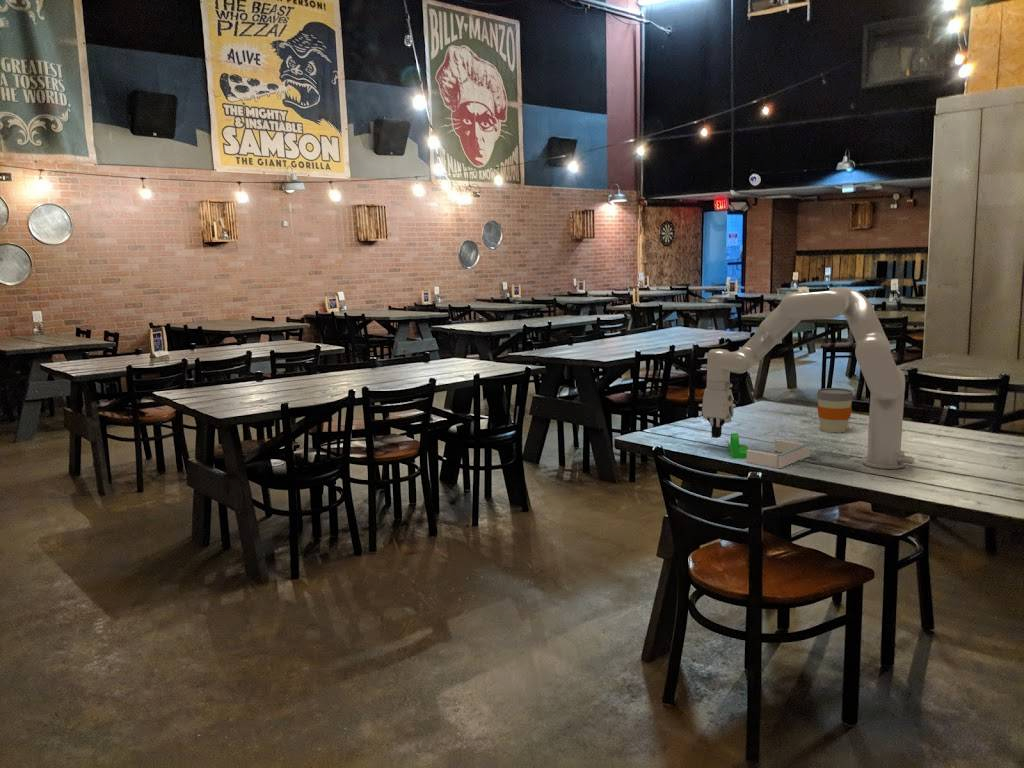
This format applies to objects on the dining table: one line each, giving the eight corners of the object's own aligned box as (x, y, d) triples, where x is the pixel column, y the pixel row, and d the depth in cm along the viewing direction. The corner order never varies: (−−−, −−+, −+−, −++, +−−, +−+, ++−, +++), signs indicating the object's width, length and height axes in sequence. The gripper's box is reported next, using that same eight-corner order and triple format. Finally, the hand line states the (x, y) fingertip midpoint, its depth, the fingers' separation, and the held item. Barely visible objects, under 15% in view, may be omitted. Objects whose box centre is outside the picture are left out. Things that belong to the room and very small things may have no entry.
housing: (809, 456, 260) (809, 443, 259) (780, 468, 247) (780, 455, 246) (776, 450, 269) (776, 438, 268) (746, 462, 255) (746, 449, 255)
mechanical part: (751, 459, 260) (751, 435, 259) (732, 458, 261) (732, 435, 260) (745, 449, 272) (746, 427, 270) (727, 449, 273) (728, 427, 271)
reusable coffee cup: (857, 433, 289) (859, 393, 287) (822, 434, 290) (824, 394, 287) (843, 426, 302) (845, 387, 299) (810, 426, 302) (812, 388, 300)
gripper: (743, 386, 268) (741, 438, 271) (705, 381, 278) (703, 431, 282) (731, 389, 263) (729, 442, 266) (693, 384, 273) (691, 435, 276)
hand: (716, 437), depth 274 cm, fingers closed
